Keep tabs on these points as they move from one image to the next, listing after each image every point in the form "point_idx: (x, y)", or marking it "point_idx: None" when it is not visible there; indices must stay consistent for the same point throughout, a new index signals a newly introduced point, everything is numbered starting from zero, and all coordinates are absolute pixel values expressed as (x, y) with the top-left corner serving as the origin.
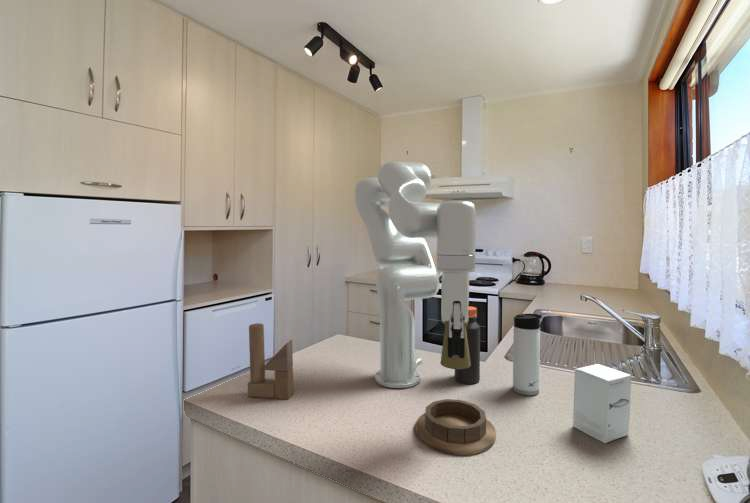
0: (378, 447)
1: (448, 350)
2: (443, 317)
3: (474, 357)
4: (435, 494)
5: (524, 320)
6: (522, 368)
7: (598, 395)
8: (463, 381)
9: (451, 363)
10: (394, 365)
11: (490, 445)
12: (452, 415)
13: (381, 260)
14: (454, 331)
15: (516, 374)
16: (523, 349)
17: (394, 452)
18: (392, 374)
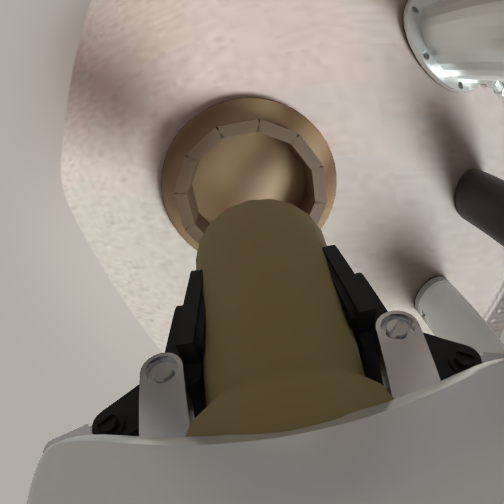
0: (135, 57)
1: (189, 291)
2: (35, 473)
3: (493, 233)
4: (66, 194)
5: None
6: (443, 322)
7: None
8: (459, 188)
9: (197, 268)
10: (447, 23)
11: None
12: (301, 175)
13: None
14: (90, 426)
15: (443, 302)
16: None
17: (129, 91)
18: (431, 22)
